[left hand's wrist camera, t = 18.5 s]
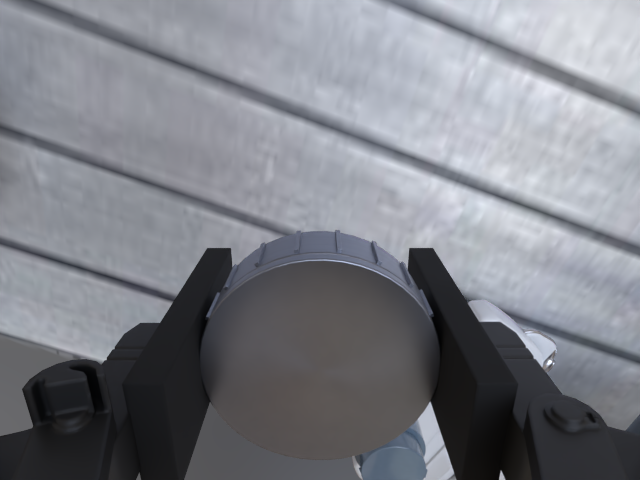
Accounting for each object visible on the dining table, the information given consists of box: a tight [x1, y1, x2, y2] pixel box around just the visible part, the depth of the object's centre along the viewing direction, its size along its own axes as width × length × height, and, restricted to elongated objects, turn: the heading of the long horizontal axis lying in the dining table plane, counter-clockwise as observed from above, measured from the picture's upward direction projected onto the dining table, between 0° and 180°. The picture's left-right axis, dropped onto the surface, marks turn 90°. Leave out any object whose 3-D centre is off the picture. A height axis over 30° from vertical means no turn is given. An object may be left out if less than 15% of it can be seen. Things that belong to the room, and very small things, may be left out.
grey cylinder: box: [355, 419, 428, 480], centre depth 36 cm, size 5×5×17 cm
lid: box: [199, 230, 441, 460], centre depth 11 cm, size 6×6×2 cm
